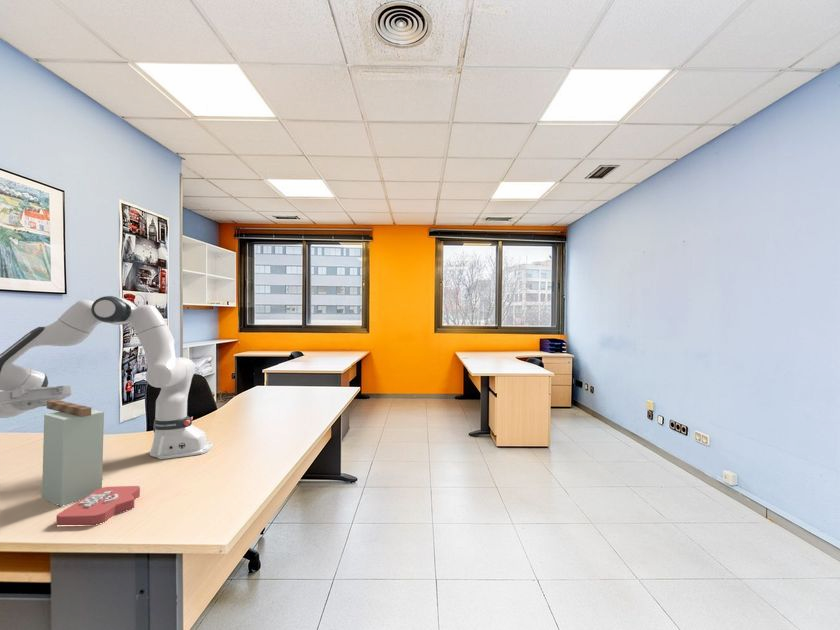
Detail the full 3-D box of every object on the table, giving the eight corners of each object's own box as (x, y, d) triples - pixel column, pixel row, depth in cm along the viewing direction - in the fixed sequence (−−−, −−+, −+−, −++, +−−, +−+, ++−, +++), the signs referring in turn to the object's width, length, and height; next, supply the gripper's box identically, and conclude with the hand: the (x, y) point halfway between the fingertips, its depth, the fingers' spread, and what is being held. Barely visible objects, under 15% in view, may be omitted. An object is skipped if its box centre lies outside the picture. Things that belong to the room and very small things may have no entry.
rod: (46, 408, 121) (46, 401, 121) (56, 406, 124) (56, 399, 124) (81, 417, 112) (81, 409, 112) (91, 415, 115) (91, 407, 115)
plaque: (112, 512, 100) (52, 514, 99) (111, 527, 100) (51, 529, 99) (152, 483, 118) (102, 484, 117) (152, 495, 118) (102, 496, 117)
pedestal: (41, 498, 114) (44, 414, 114) (82, 485, 123) (84, 407, 123) (61, 507, 109) (63, 419, 109) (101, 492, 118) (103, 412, 118)
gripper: (-20, 394, 123) (0, 384, 118) (59, 387, 142) (79, 378, 137) (-19, 412, 122) (1, 403, 117) (60, 403, 141) (81, 394, 136)
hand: (44, 389), depth 127 cm, fingers open, 8 cm apart
